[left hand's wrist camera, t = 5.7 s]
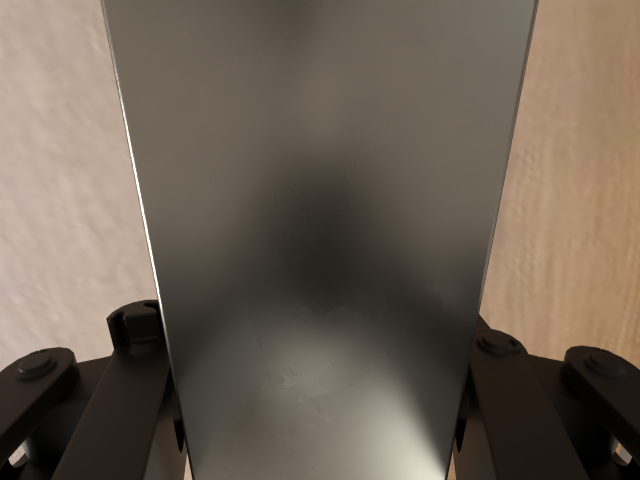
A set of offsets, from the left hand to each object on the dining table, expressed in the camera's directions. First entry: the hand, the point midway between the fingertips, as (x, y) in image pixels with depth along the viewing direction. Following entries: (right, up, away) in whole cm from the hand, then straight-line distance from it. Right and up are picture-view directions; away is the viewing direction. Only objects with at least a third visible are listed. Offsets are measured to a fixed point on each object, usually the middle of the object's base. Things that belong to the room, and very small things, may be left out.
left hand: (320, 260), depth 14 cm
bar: (0, +7, -2) cm, 7 cm away
